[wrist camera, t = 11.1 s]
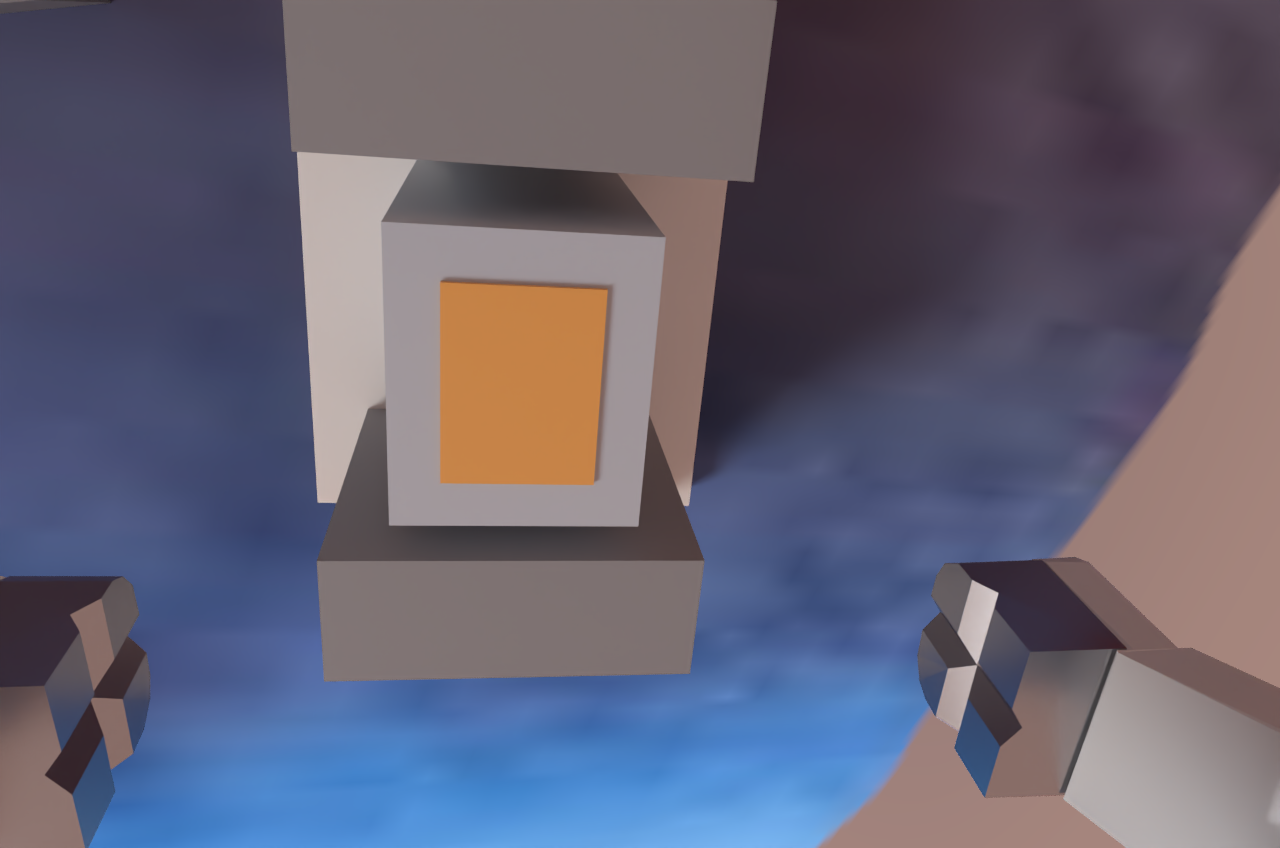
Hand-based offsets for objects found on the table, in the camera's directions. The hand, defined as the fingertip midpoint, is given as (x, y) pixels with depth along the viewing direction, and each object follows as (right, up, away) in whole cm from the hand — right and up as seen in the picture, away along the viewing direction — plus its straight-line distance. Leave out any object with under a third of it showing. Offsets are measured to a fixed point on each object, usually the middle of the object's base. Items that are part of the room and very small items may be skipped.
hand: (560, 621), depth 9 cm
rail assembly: (-3, +6, +16) cm, 18 cm away
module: (-3, +6, +15) cm, 17 cm away
